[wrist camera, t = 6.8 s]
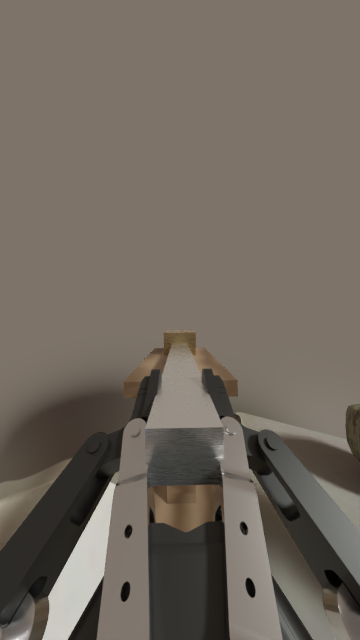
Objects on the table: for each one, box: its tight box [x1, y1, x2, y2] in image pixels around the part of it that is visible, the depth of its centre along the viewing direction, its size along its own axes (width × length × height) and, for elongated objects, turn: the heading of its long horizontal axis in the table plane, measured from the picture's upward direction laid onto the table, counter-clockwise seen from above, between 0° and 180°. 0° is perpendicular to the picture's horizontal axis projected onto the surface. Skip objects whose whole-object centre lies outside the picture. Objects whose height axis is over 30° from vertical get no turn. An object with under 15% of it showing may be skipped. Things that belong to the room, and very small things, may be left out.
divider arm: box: [145, 330, 224, 486], centre depth 22 cm, size 7×32×5 cm, turn 1°
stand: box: [124, 348, 238, 532], centre depth 28 cm, size 18×22×32 cm
